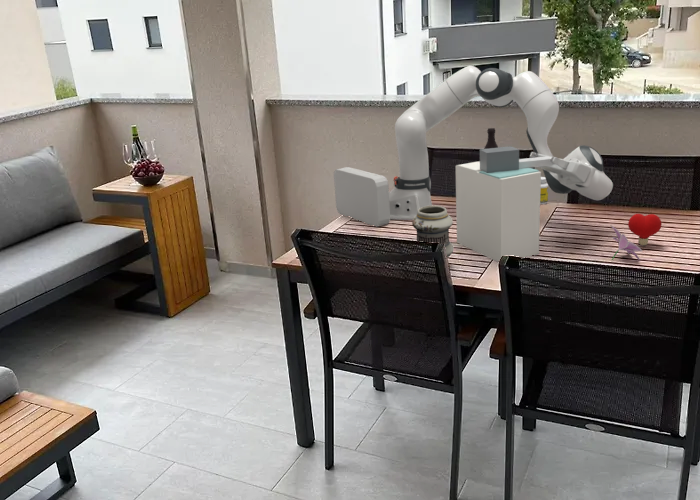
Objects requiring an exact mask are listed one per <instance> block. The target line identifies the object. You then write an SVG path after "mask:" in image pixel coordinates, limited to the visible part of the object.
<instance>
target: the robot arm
mask: <svg viewBox="0 0 700 500" xmlns="http://www.w3.org/2000/svg"><path fill="white" fill-rule="evenodd" d="M476 97H480V98H482V99H483V101H485V102H486V103H488V104H489V105H491V106H493V107H496V108H506V107H508V106H510V105H511V104H513V102H514V103H516V104H517V105H518V107H519V108H520V109H521V111H522V113H524V116H525V120H526V125H527V128H526V130H525V131H526V136H527V139H528V141H529V144H530V146H531V148H532V150H533V151H531V152H530V155H529V158H536V157H545V156H549V157H551V160H550V162H552V163H553V164H554V165H550V166H541V167H538V168H539V169H541V170H542V171H543V174H544V177H545V178H546V181H547V182H546V183H547V184H548V188H549V189H550V190H551V191H552V192H553V193H556V194H561V195H563V194H564V195H565V194H567V195H568V194H569V193H571V192H572V191H576V192H577V193H579V195H581V196H584V197H585V198H588V199H590V200H594V201H601V200H604V199H606V197H608V196H609V195H610V193H611V192H612V190H613V187H614V183H613V182H612V180H611V179H610V178H609V176H607V175H606V174H605V171H604V161H603V157H602V156H601V154H600V153H599V152H598V150H596V149H595V148H593V147H591V146H589V145H582V144H581V145H579V146H578V147H576V148H574V149H573V150H572V151H571V152H570V153H568V154H567V155H566V156H565V157H564V158H558V157H557V156H554V155H553V153H552V151H551V149H550V147H549V145H548V136H549V133H550V131H551V129H552V128H553V125H554V124H555V122H556V120H557V118H558V116H559V111H560V103H559V101H558V99H557V97H556V96H555V94H554V93H553V91H552V90H551V88H550V87H549V86H548V85H547V83H545V81H543V80H542V78H540V77H539V76H538V75H537V74H536V73H535V72H533V71H530V70H527V71H523V72H520V73H519V74H517V75H516V76H513V74H511V73H510V72H508V71H505V70H502V69H499V68H496V67H489V68H488V67H487V68H485V69H483V70H482V71H481V70H480V68H478V67H476V66H474V65H468V66H464V68H462V69H459V70H458V71H456V72H454V73H453V74H451V75H450V76H449V77H447V78H446V79H445V80H444V81H442V82H441V83H440V84H439V85H437V86H436V87H435V88H433V89H432V90H431V91H430V92H428V93H427V94H426V95H424V96H423V97H422V98H420V99H419V100H418V101H416V102H415V103H414V104H413V105H411V106H410V107H409V108H407V109H406V110H404V112H402V114H401V115H400V116H399V117H398V118H397V120H396V121H395V124H394V133H395V142H396V149H397V156H398V172H399V173H398V175H399V176H397V175H396V176H394V177H393V182H394V183H393V184H394V187H393V188H392V189H391V190H389V206H390V220H406V221H407V220H412V221H413V219H414V217H415V216H417V212H418V209H419V208H421V207H424V206H432V205H433V204H432V203H433V202H432V198H431V190H432V187H431V186H432V182H431V176H430V170H429V168H430V166H429V153H428V145H427V132H429V131H430V130H431V129H433V128H434V127H435V126H438V124H440V123H441V122H443V121H444V120H446V119H448V118H449V117H450V116H452V115H453V114H454V113H456V111H458V110H459V109H461V108H462V107H463V106H464V105H466V104H467V103H469V102H470V101H471V100H473V99H475V98H476Z"/></svg>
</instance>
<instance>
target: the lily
mask: <svg viewBox="0 0 700 500" xmlns="http://www.w3.org/2000/svg"><path fill="white" fill-rule="evenodd" d="M610 226H611V227H610V228H612V230H613V231H614V233H615V234H616V236H617V237H616V236H612V237H611V239H613V240H614V241H616V242H617V243H618V249H617V250H616V252H615V254H614V255H613V256H612V259H611V260H613V261H614V259H615V257H616V255H617V253H619V251H626V253H627V254H628V255H631V254H632V255H633V256H634V257H635V258H636V259H637V260H638V261H639V260H640V261H641V259H640V257H639V255H638V254H637V253H636V252H643V249H641V248H640V246H638V245H637V244H636V243H634V242H631V240H629V239H628V238H627V236H626V235H625V234H624V233H622V232H620V230H618V229H617V228H616V227H614V226H613V225H612V224H611V225H610Z"/></svg>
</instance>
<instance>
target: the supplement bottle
mask: <svg viewBox="0 0 700 500" xmlns="http://www.w3.org/2000/svg"><path fill="white" fill-rule="evenodd" d="M548 202H549V185H548V183H547V181H546V178H545V176H541V191H540V205H546V204H548Z"/></svg>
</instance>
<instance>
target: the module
mask: <svg viewBox="0 0 700 500" xmlns="http://www.w3.org/2000/svg"><path fill="white" fill-rule="evenodd" d="M550 160H551V157H549V156H545V157H536V158H531V157H529V158H527V157H526V158H520V149H519V148H516V147H514V146H511V145H510V146H502V147H501V146H500V147H499V146H498V148H489V149H484V148H480V149H479V161H480V169H481V170H482V171H484V172H486V173H492V172H501V171H511V170H519V169H522V168H532V169H533V168H539V167H541V166H550V165H554V164H553V163H552V162H550Z"/></svg>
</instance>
